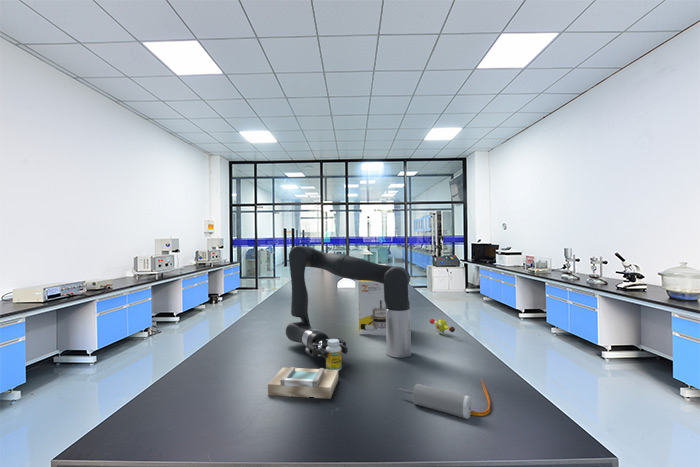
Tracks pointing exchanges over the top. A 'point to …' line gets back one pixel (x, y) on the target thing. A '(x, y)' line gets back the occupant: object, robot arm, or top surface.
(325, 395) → the dock
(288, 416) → the top surface
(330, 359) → the supplement bottle
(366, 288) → the packaging box
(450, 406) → the motor
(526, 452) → the top surface
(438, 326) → the toy figure
